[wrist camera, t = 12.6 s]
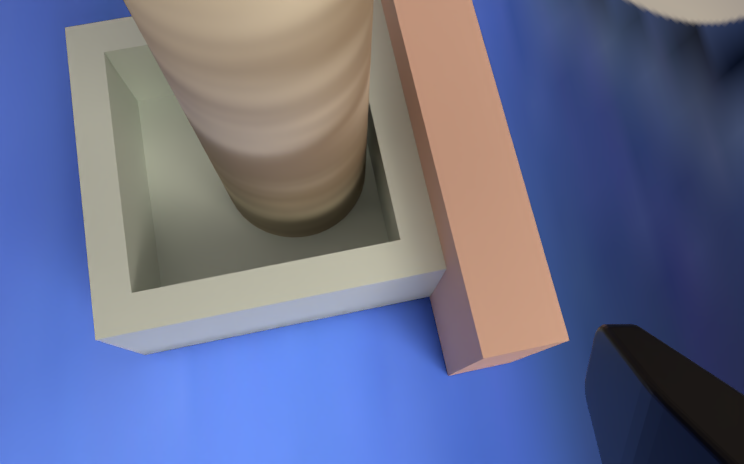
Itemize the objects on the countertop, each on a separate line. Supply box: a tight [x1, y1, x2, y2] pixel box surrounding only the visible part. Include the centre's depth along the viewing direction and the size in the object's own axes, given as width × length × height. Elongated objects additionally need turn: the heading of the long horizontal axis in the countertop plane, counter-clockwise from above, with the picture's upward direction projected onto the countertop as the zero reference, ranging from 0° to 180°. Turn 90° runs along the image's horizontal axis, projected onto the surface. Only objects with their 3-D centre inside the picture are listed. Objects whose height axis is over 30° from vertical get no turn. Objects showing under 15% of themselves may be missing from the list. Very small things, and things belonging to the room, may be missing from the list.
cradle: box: [65, 0, 447, 355], centre depth 20 cm, size 9×9×4 cm
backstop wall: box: [381, 0, 569, 376], centre depth 20 cm, size 14×2×6 cm, turn 12°
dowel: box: [123, 0, 374, 237], centre depth 15 cm, size 4×4×13 cm
